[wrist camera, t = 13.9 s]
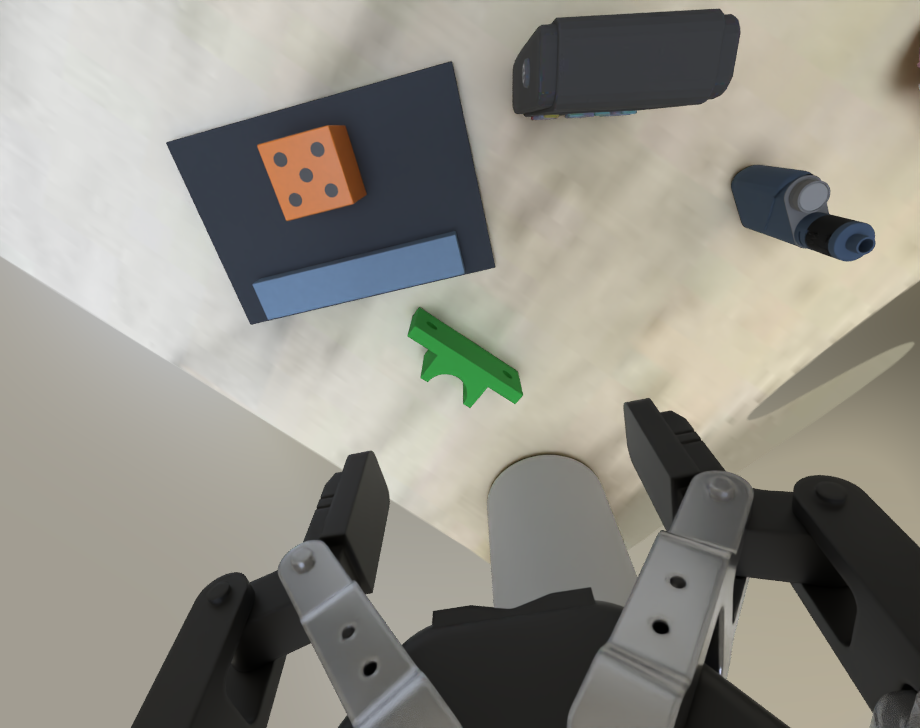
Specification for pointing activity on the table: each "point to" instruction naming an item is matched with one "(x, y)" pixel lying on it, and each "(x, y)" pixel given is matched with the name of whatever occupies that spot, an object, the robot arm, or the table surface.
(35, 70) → the table surface
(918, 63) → the purple rounded lump
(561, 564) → the cylinder vase
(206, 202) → the bed mat
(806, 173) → the vaping device
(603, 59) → the dark grey rounded box
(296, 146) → the die
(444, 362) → the pipe clamp
